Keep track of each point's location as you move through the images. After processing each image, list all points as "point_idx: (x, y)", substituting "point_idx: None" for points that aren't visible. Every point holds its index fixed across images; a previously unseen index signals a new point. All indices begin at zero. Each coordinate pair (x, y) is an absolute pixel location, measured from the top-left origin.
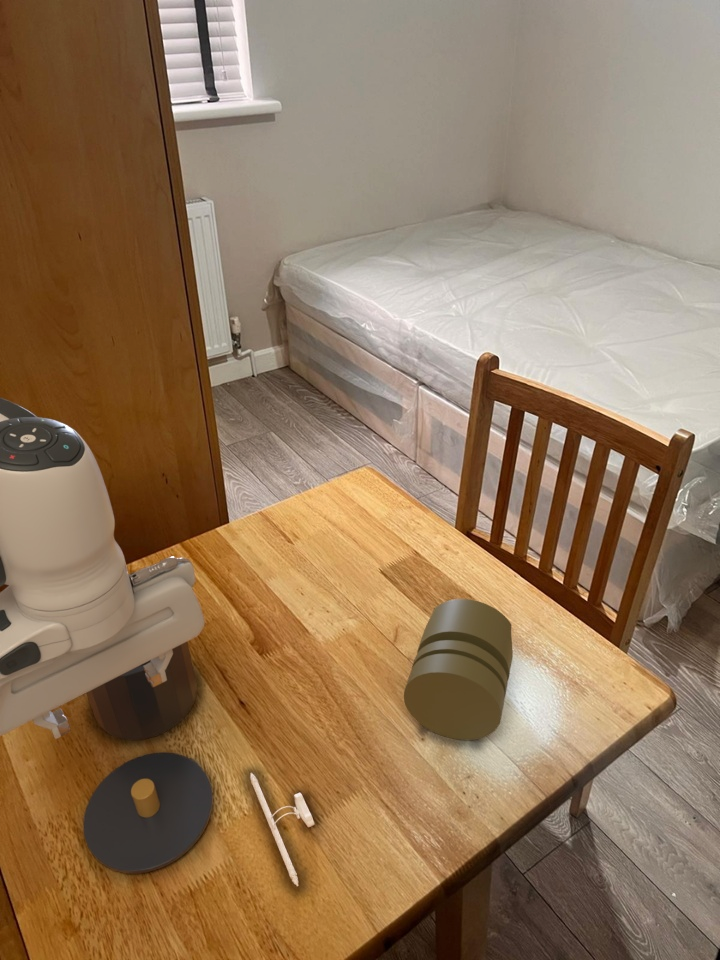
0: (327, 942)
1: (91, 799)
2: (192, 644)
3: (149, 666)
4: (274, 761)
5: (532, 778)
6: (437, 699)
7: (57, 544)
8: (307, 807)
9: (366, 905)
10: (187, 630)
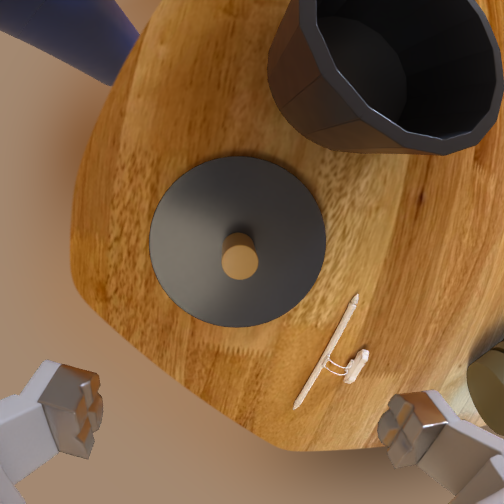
0: (275, 441)
1: (185, 176)
2: None
3: (428, 435)
4: (384, 296)
5: None
6: (493, 396)
7: None
8: (359, 371)
9: (316, 438)
10: None
